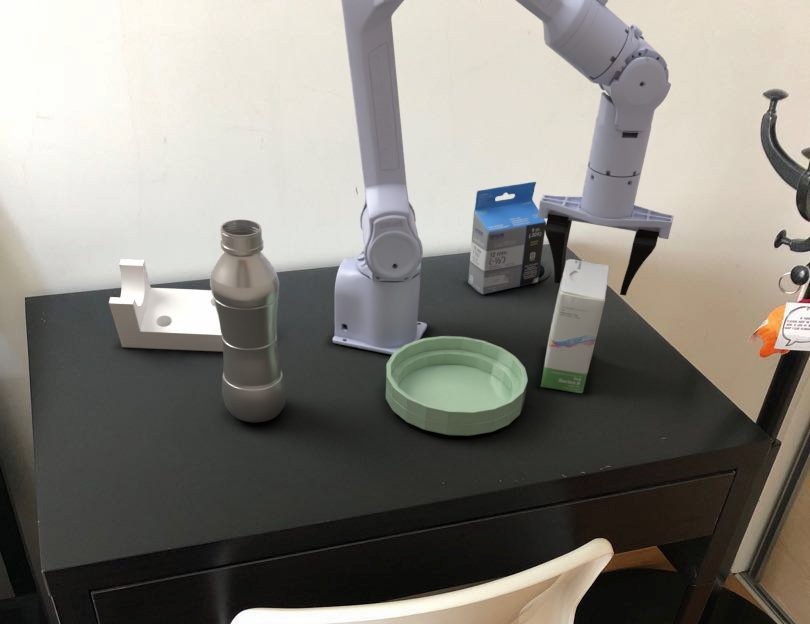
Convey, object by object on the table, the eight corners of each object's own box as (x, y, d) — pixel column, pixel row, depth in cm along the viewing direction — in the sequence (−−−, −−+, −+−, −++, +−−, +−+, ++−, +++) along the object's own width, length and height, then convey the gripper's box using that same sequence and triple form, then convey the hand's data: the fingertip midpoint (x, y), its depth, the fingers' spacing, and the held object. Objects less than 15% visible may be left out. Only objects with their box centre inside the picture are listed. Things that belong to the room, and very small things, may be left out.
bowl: (366, 422, 94) (367, 394, 92) (408, 352, 105) (409, 325, 103) (506, 453, 92) (510, 424, 89) (534, 378, 102) (539, 351, 100)
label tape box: (481, 296, 116) (492, 201, 108) (465, 282, 119) (475, 189, 111) (538, 284, 120) (553, 191, 111) (521, 271, 122) (535, 180, 114)
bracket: (123, 353, 104) (108, 303, 97) (134, 309, 108) (120, 258, 101) (237, 357, 104) (229, 308, 98) (243, 314, 108) (236, 264, 102)
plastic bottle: (261, 438, 91) (247, 250, 78) (210, 415, 94) (188, 229, 80) (300, 409, 96) (293, 225, 82) (250, 388, 98) (235, 206, 85)
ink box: (546, 350, 107) (563, 255, 99) (590, 356, 107) (610, 262, 99) (539, 388, 101) (556, 290, 93) (585, 395, 100) (606, 298, 92)
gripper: (686, 165, 98) (656, 281, 107) (554, 145, 100) (536, 260, 110) (681, 188, 93) (650, 308, 102) (542, 166, 95) (524, 285, 104)
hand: (590, 285), depth 105 cm, fingers open, 7 cm apart
